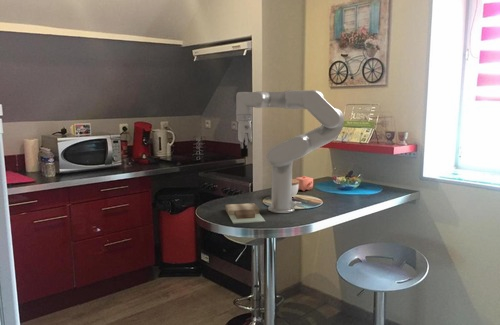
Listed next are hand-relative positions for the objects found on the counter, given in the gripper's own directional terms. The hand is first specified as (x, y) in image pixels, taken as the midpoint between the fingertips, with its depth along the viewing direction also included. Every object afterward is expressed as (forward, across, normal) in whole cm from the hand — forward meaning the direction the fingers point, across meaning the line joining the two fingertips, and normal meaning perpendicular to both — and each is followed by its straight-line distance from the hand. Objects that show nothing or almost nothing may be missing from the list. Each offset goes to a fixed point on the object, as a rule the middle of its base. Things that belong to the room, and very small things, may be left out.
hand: (244, 156), depth 204 cm
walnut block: (+24, -18, +4) cm, 31 cm away
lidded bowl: (+25, +15, -27) cm, 40 cm away
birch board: (+25, -9, +3) cm, 27 cm away
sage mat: (+25, -21, +3) cm, 33 cm away
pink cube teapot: (+25, +29, -42) cm, 57 cm away
